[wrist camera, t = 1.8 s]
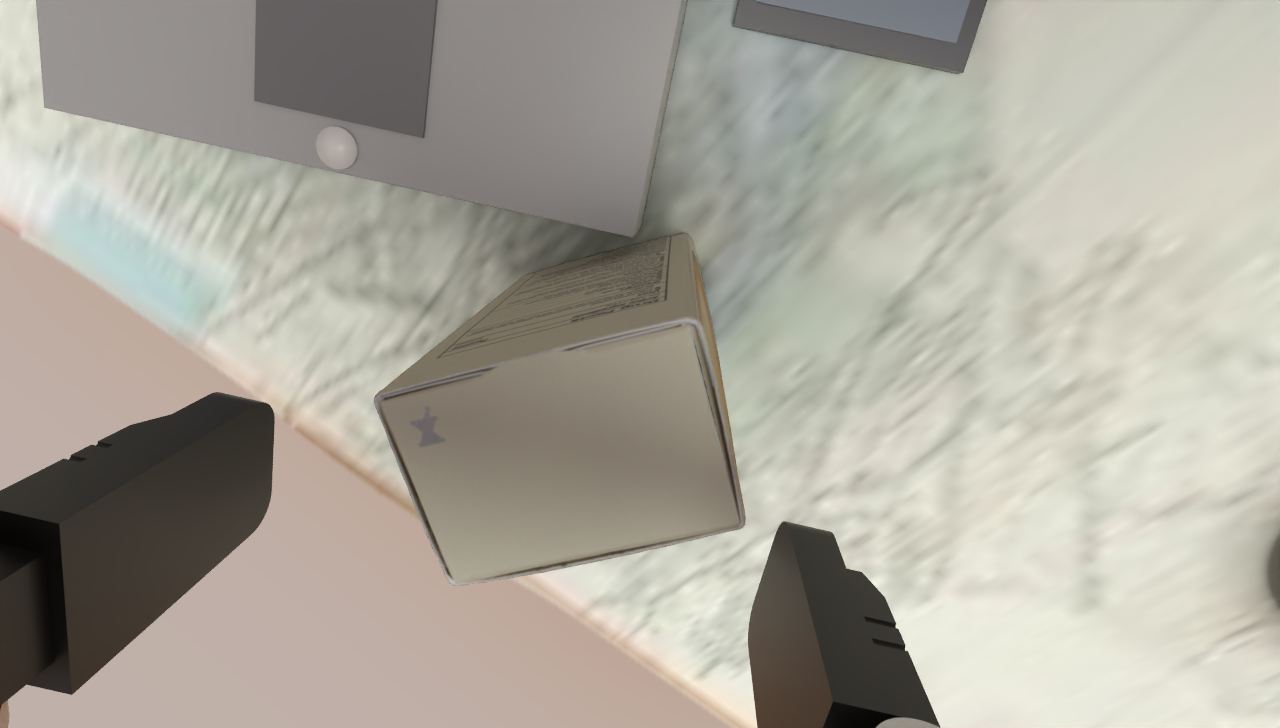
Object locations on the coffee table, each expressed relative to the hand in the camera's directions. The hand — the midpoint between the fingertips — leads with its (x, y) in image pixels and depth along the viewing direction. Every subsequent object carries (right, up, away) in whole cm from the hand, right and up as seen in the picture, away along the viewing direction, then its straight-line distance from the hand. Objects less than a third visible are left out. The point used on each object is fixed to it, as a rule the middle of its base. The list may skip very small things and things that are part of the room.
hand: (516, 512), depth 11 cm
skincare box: (+1, +4, +13) cm, 14 cm away
